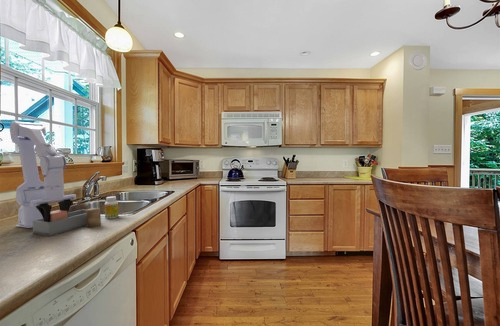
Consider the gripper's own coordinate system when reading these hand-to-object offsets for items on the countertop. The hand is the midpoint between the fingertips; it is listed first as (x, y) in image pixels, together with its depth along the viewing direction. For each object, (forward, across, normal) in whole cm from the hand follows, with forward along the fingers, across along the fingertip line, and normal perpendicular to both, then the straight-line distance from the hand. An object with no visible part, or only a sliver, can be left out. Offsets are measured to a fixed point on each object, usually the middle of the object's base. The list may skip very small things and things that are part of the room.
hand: (55, 220), depth 87 cm
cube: (+1, 0, 0) cm, 1 cm away
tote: (+4, +4, 0) cm, 6 cm away
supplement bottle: (+4, +21, -4) cm, 21 cm away
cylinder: (+4, +9, -8) cm, 13 cm away
